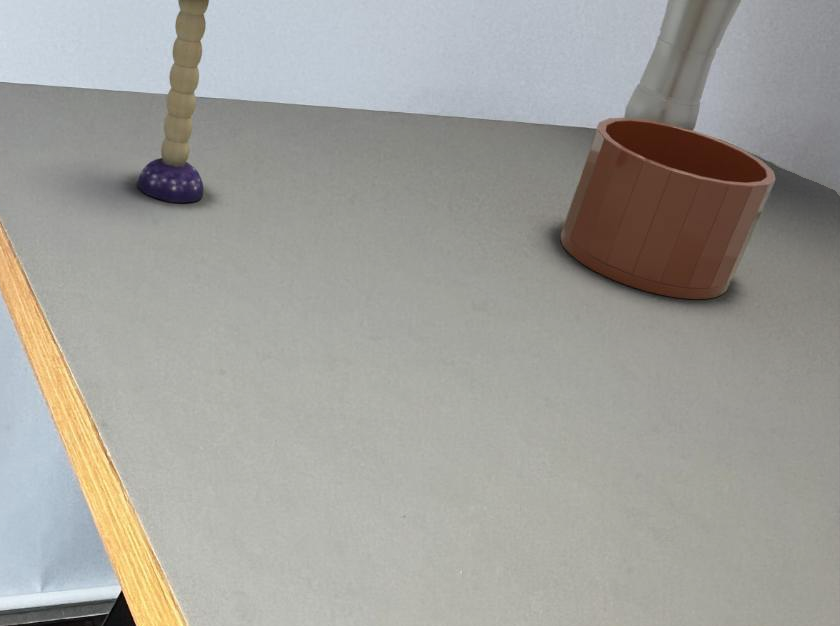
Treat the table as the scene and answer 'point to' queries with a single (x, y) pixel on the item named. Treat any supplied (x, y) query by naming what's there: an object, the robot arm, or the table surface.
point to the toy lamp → (179, 113)
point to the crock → (665, 208)
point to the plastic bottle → (681, 62)
